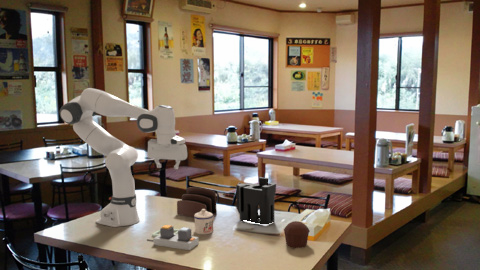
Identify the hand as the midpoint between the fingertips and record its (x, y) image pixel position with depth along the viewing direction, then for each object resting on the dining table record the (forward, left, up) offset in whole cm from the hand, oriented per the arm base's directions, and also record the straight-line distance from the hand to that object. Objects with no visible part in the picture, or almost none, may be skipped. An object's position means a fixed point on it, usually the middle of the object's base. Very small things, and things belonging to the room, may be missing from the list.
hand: (167, 168), depth 207 cm
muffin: (+62, +4, -31) cm, 70 cm away
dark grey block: (+17, -16, -30) cm, 38 cm away
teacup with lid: (+17, +5, -31) cm, 36 cm away
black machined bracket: (+34, +29, -31) cm, 55 cm away
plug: (+8, -16, -30) cm, 35 cm away
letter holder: (-1, +29, -32) cm, 43 cm away
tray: (+2, -6, -31) cm, 32 cm away
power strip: (+10, -16, -31) cm, 36 cm away
